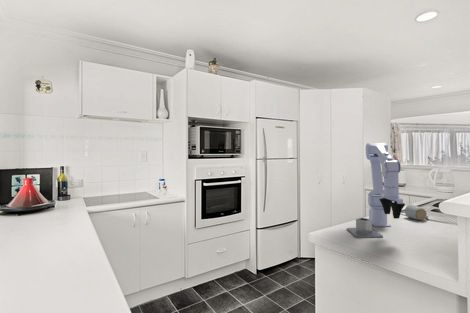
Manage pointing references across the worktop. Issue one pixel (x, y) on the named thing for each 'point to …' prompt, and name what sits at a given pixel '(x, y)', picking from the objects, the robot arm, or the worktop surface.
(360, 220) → the sleeve
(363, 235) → the duct flange
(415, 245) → the worktop surface
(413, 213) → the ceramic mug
